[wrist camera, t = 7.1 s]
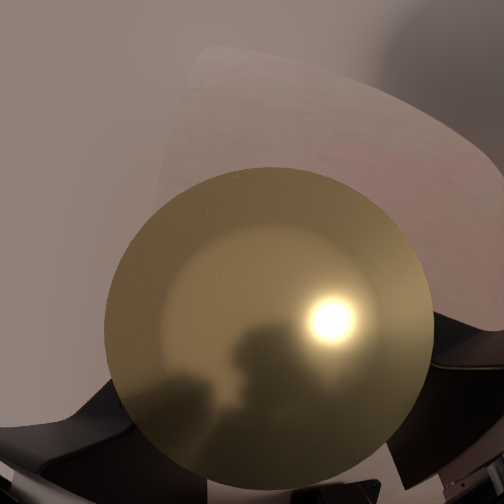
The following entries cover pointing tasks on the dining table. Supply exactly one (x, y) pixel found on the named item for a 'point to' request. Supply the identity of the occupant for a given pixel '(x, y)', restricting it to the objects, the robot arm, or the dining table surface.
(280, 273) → the gold cylinder
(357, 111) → the dining table surface
